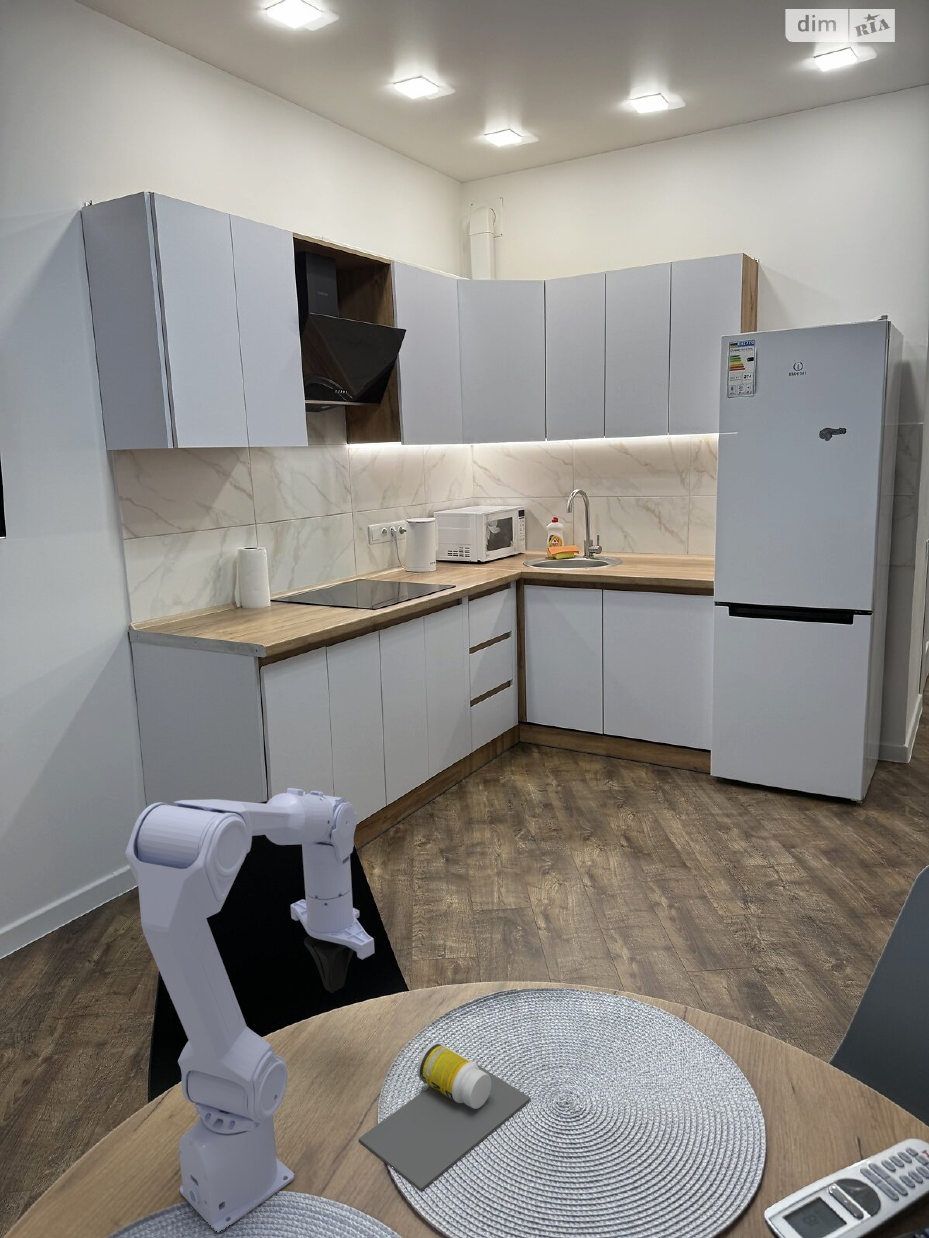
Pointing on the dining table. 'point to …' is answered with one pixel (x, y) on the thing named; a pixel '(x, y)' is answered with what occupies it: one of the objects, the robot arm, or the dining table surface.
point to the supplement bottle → (454, 1075)
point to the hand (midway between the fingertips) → (334, 987)
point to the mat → (439, 1130)
